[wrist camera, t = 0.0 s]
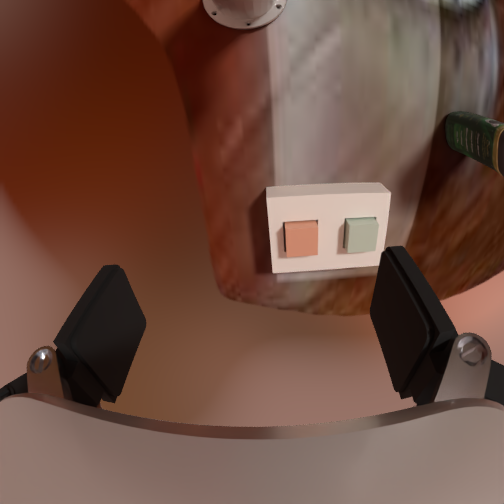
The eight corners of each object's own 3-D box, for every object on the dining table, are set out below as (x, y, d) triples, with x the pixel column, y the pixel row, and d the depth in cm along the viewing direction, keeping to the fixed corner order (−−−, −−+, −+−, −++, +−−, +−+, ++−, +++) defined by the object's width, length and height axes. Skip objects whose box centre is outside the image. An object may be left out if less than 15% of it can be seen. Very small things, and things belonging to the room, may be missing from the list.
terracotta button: (284, 219, 45) (285, 229, 42) (314, 217, 44) (318, 227, 41) (285, 246, 47) (286, 257, 44) (314, 244, 47) (317, 255, 44)
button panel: (266, 187, 45) (266, 198, 41) (379, 182, 44) (390, 192, 39) (272, 257, 53) (272, 273, 49) (372, 250, 51) (380, 265, 47)
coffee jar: (444, 151, 39) (510, 188, 23) (441, 109, 35) (513, 131, 19) (478, 150, 37) (541, 185, 22) (477, 112, 33) (545, 135, 18)
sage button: (344, 216, 44) (349, 225, 41) (372, 214, 43) (378, 224, 40) (342, 242, 46) (347, 253, 43) (369, 240, 46) (375, 251, 43)
